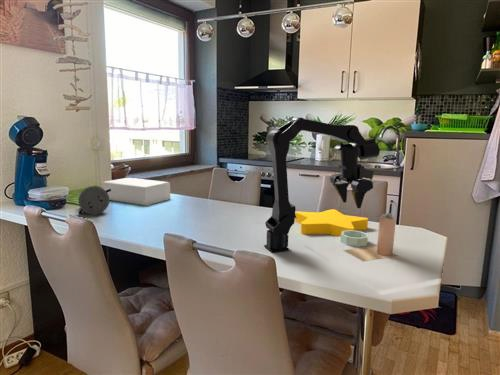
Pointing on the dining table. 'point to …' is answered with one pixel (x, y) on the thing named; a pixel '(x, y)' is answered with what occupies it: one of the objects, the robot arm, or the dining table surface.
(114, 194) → the box
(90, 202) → the toy
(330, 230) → the star
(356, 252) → the board
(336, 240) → the dining table surface
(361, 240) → the bowl
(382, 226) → the peach cylinder with balls
